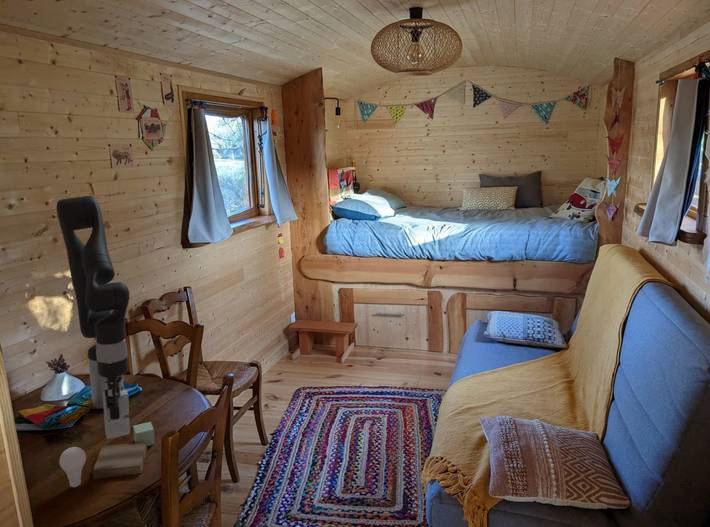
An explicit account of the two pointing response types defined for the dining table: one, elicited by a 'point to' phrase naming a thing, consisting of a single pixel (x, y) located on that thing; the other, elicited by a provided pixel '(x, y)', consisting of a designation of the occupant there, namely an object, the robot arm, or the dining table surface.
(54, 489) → the dining table surface
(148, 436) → the sage block
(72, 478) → the lightbulb
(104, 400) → the skincare box
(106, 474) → the beige flat slab
